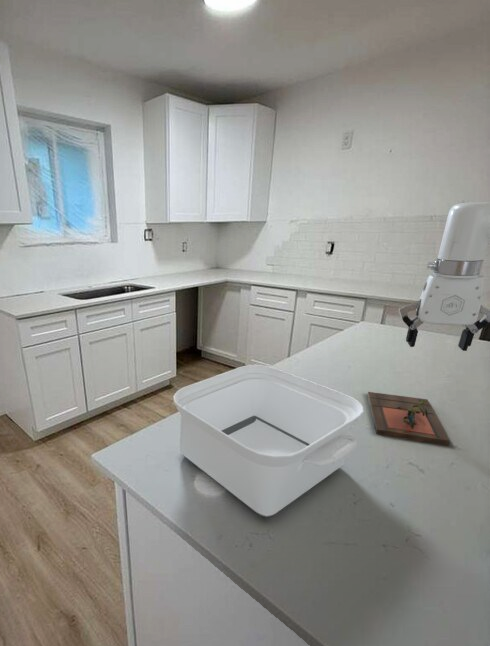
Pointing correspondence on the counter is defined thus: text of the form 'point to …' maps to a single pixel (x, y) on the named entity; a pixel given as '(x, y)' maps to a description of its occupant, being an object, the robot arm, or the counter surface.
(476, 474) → the counter surface
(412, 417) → the dark green branching piece
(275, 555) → the counter surface
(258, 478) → the white storage bin
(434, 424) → the board
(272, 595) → the counter surface
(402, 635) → the counter surface
